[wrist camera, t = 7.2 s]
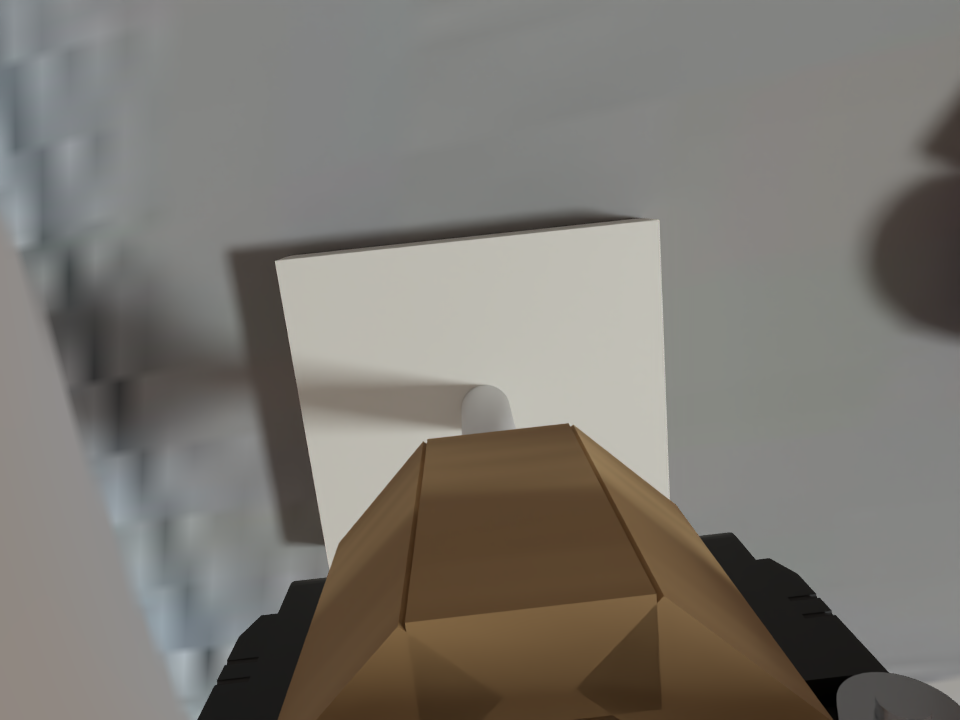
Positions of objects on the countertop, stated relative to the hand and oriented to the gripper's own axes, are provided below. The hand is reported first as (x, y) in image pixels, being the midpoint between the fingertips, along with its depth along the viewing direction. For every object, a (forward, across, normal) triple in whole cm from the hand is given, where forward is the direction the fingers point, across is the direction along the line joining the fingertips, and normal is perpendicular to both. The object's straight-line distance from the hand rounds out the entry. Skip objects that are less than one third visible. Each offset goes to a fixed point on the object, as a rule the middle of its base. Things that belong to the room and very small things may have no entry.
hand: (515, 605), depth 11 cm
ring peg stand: (+13, 0, 0) cm, 13 cm away
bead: (+1, 0, 0) cm, 1 cm away
